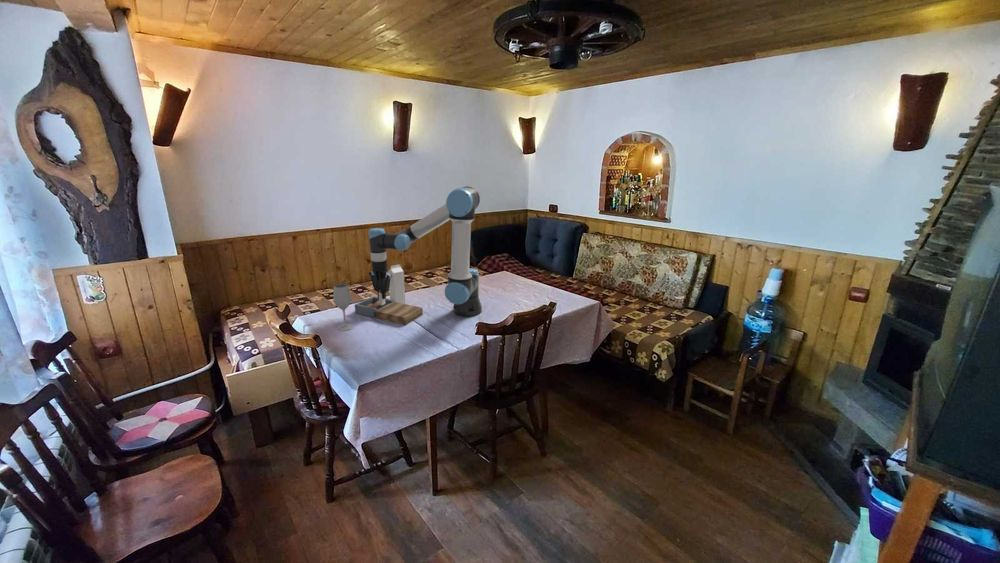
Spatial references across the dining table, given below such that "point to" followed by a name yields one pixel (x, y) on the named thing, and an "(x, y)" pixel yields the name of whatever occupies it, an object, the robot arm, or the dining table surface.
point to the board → (399, 313)
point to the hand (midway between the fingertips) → (382, 304)
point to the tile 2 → (376, 304)
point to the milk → (397, 284)
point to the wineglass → (342, 302)
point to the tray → (364, 310)
